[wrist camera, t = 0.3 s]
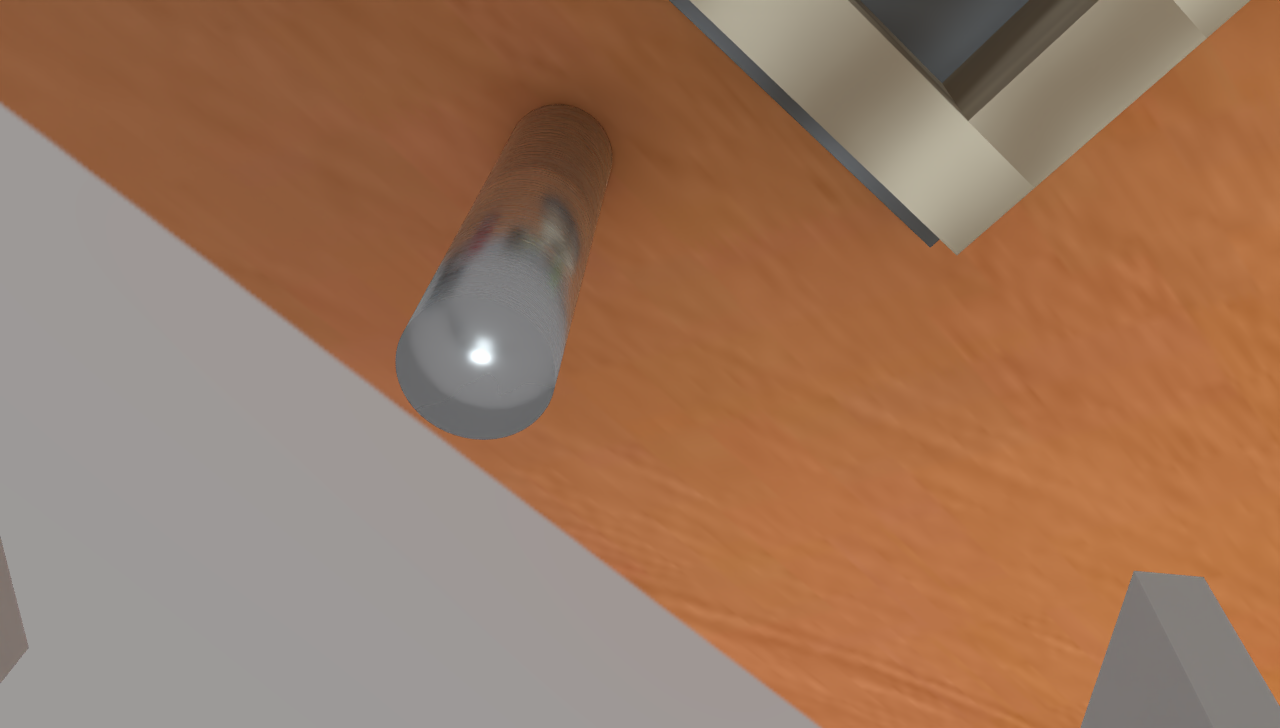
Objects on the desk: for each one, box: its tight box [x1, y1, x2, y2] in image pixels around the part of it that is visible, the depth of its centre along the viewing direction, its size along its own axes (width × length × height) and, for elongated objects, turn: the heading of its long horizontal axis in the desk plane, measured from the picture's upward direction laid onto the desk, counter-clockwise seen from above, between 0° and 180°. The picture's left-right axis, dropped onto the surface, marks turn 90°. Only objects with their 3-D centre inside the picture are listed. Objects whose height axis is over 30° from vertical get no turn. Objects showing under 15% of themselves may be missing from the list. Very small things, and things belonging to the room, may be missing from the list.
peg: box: [396, 104, 612, 440], centre depth 31 cm, size 4×4×15 cm
